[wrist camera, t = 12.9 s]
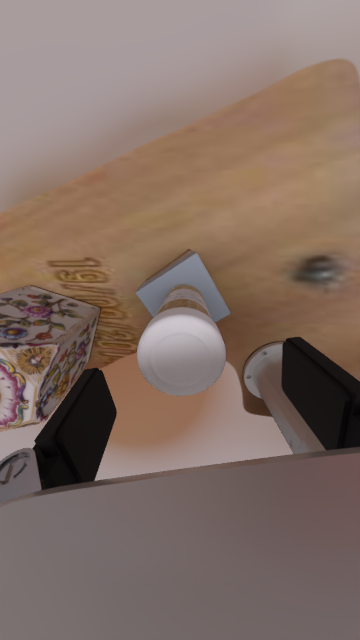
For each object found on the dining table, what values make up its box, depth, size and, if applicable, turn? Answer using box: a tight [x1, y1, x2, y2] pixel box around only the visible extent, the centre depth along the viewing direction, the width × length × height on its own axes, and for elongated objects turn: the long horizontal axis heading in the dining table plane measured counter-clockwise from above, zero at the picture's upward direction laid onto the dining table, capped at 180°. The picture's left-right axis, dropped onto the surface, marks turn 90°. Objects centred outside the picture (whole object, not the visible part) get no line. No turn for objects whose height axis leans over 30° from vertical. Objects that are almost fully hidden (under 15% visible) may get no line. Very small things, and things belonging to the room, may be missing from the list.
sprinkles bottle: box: [137, 284, 226, 396], centre depth 16 cm, size 5×5×13 cm
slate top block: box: [136, 251, 231, 323], centre depth 25 cm, size 8×8×5 cm
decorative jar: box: [0, 286, 100, 432], centre depth 26 cm, size 12×12×18 cm
